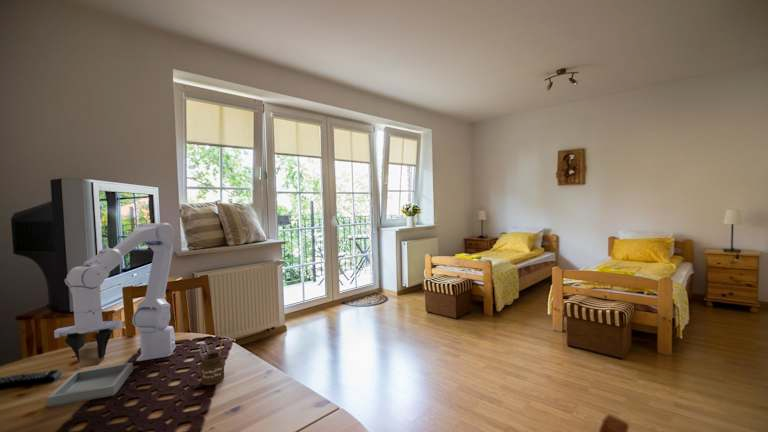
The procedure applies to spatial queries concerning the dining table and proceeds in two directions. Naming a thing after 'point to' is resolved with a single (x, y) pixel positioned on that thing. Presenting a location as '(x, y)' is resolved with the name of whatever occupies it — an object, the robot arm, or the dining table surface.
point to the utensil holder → (212, 367)
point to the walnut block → (89, 355)
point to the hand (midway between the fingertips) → (91, 358)
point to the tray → (90, 384)
